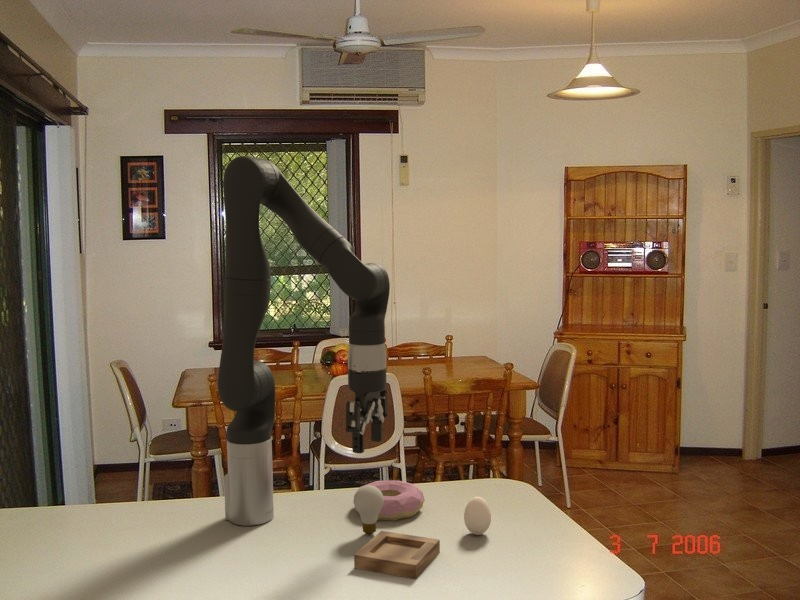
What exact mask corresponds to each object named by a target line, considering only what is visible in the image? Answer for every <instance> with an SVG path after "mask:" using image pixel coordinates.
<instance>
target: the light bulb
mask: <svg viewBox="0 0 800 600" xmlns="http://www.w3.org/2000/svg"><path fill="white" fill-rule="evenodd" d="M365 485H366V486H364V485H362V486H363V487H362V486H360V487H361V488H360V487H359V488H360V489H359V488H358V489H359V490H358V489H357V490H358V491H357V490H356V492H355V493H356V494H355V493H354V495H355V497H354V496H353V502H354V503H353V504H355V505H354V508H355V507H356V508H355V510H356V509H357V511H358V514H359V516H360V520H361V522H362V523H361V524H362V532H363V533H364V534H365V535H367V536H372V535H373V534H374V533H376V531H377V521H378V520H377V518H378V514H379V512H380V510H381V509H382V507H383V503H384V498H383V494H382V492H381V491H380V490H379V489H378V488H377V487H375V486H372V485H367V484H365ZM357 511H356V512H357Z"/></svg>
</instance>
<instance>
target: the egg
mask: <svg viewBox="0 0 800 600" xmlns="http://www.w3.org/2000/svg"><path fill="white" fill-rule="evenodd" d="M463 521H464V524H465V528H467V530H468V531H469V532H470V534H472V535H476V536H481V535H483V534H484V533H486V532H487V531H488V529H489V528H490V525H491V522H492V513H491V509H490V506H489V504H488V502H487V501H486V500H485V499H484V498H483V497H480V496H474V497H472V498H470V500H469V501H468V502H467V504H466V506H465V508H464V512H463Z"/></svg>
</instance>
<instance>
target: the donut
mask: <svg viewBox="0 0 800 600" xmlns="http://www.w3.org/2000/svg"><path fill="white" fill-rule="evenodd" d="M366 485H372V486H375V487H377V488H378V489H379V490H380V491H381V492H382V494H383V498H384V503H383V507H382V509H381V510H380V512H379V514H378V518H377V521H392V522H393V521H397V520H398V521H399V520H403V519H407V518H408V519H409V518H412V517H413V516H414V515H415V514H417V513H418V512H419V511H421V509H422V508H423V506H424V502H425V500H426V499H425V496H424V493H423V491H422V490H421V489H419V487H417V486H416V485H415V484H413V483H411V482H407V481H402V480H390V479H389V480H376V481H373V482H369V483H367V484H365V485H364V484H363V485H362V486H359V487H358V489H357V490H356V492H357V491H358V490H359V489H360V488H361V487H363V486H366ZM356 492H355V493H354V495H353V498H354V497H355V494H356ZM353 504H354V501H353ZM354 508H355V511H356V512H358V511H357V509H356V507H355V504H354ZM358 513H359V512H358Z"/></svg>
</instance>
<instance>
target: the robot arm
mask: <svg viewBox="0 0 800 600" xmlns="http://www.w3.org/2000/svg"><path fill="white" fill-rule="evenodd" d="M222 180H223V181H222V182H223V183H222V185H223V186H222V191H223V202H224V204H223V205H224V215H225V264H224V265H225V266H224V284H223V285H224V291H223V294H224V295H223V296H224V297H223V299H224V301H223V302H224V303H223V304H224V306H223V328H222V346H221V353H220V360H219V367H218V368H219V369H218V375H217V393H218V396H219V399H220V401H221V403H222V405H223V406H224V407H225V408H226V409H228V410H230V411H233V412H235V415H234V417H233V418H232V420H231V421H230V422H229V423H228V425H227V427H226V452H227V453H226V454H227V473H226V474H225V475H224V477H223V486H224V487H223V488H224V490H223V491H224V511H225V512H224V514H225V515H224V516H225V520H226V521H229V522H230V523H232V524H235V525H236V526H237V525H238V526H244V527H246V526H258V525H262V524H265V523H268V522H270V521H271V520H273V518H274V513H275V512H274V509H275V507H274V483H273V482H274V478H273V476H274V475H273V471H274V470H273V444H272V442H273V441H272V430H273V428H274V424H275V420H276V419H275V418H276V383H275V378H274V374H273V372H272V370H271V369H270V367H269V365H267V364H266V363H264V362H263V361H260V360H255V346H256V341H257V338H258V335H259V332H260V329H261V327H262V325H263V322H264V319H265V316H266V314H267V312H268V308H269V305H270V299H271V284H272V283H271V280H272V278H271V277H272V276H271V275H272V274H271V273H272V272H271V266H270V261H269V258H268V255H267V252H266V249H265V246H264V242H263V240H262V237H261V232H260V211H261V210H260V207H261V205H262V206H264V207H266V209H268V210H271V212H273V213H275V214H276V215H277V217H279V218H280V219H281V220H282V221H283V222H284V223H285V224H286V226H287V227H288V228H289V230H290V232H291V233H292V235H293V236H294V238H295V240H296V241H297V243H298V244H299V245H300V247H301V248H302V249H303V250H304V251H305V252H306V253H307V254H308V255H309V256H310V257H312V259H314V260H315V261H316V263H318V264H319V265H320V266H321V267H323V268H324V269H325V270H326V272H327V273H328V275H329V276H330V277H331V279H332V280H333V282H334V283H335V284H336V285H337V286H338V288H339V289H340V290H341V291H342V293H344V294H345V295H346V296H348V297H349V298H351V299H352V300H354V301H356V303H355V309H354V312H353V313H352V314H351V315H350V317H349V320H348V349H347V388H348V390H349V391H351V392H353V393H354V401H346V404H345V405H346V407H345V408H346V409H345V431H346V432H345V433H346V434H347V433H349V434H351V435H352V436H351V437H352V440H351V441H352V442H351V443H352V445H351V447H352V450H351V451H352V453H355V454H363V453H364V452H365V430H366V426H367V425H368V424H369V423H370V421H371V423H370V440H371V441H373V442H378V443H379V442H382V441H383V423H384V422H385V418H388V413H389V411H388V409H389V408H388V390H387V349H386V331H385V330H386V327H385V322H386V321H385V318H386V314H387V311H388V305H389V299H390V287H391V285H390V284H391V283H390V277H389V274H388V272H387V270H386V268H384V266H382V265H380V264H378V263H375V262H369V263H368V262H367V263H364V262H363V261H361V260H360V259H359V258H358V257H357V255H355V253H354V248H353V246H352V244H351V243H350V242H349V241H348V240H347V239H346V238H345V237H344V236H343V235H342V234H341V233H339V231H338V230H336V229H335V228H334V227H333V226H332V225H331V224H329V223H328V222H327V221H326V220H325V218H324V219H323V217H321V216H320V215H319V214H318V213H317V212H316V210H314V209H313V208H312V207H311V206H310V205H309V204H308V203H307V201H306V200H305V199H303V197H302V196H301V195H300V194H299V193H298V192H297V190H295V188H294V187H293V185H292V184H291V183H290V182H289V181H288V179H287V178H286V177H285V176H284V174H283V173H282V171H280V169H279V168H278V167H277V166H276V165H275V164H274V163H273V162H271V161H270V160H268V159H266V158H261V157H256V156H255V157H253V156H246V155H243V156H242V155H241V156H236V157H235V158H232V159H231V160H230V162H229V163H228V164H227V166H226V167H225V170H224V173H223V179H222Z"/></svg>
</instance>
